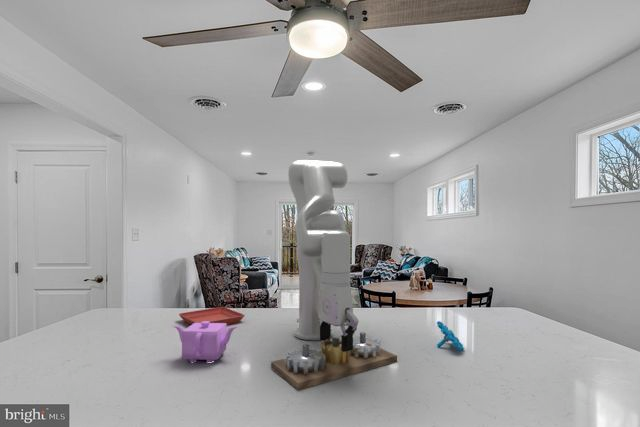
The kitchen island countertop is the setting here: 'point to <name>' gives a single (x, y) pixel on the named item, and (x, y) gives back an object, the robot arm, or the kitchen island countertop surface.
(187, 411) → the kitchen island countertop surface
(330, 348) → the brass gear
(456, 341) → the gear
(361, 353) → the gear
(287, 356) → the gear
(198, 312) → the plant saucer
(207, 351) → the teapot
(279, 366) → the gear board
